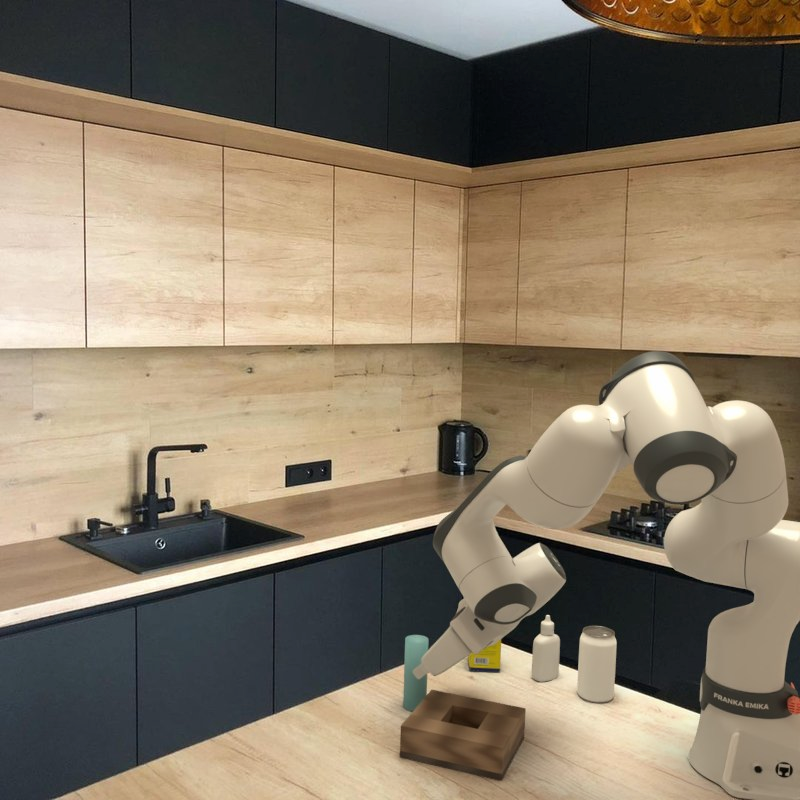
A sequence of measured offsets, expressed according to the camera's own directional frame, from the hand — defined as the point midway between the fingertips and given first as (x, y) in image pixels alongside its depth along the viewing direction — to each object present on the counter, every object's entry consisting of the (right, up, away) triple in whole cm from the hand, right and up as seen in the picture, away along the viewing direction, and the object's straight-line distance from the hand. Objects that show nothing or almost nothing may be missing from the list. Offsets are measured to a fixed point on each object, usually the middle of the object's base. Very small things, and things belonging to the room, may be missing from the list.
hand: (425, 664), depth 146 cm
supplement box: (+12, -7, +20) cm, 25 cm away
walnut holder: (+6, -10, -11) cm, 16 cm away
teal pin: (-2, -8, +2) cm, 8 cm away
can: (+31, -9, +9) cm, 33 cm away
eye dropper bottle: (+23, -8, +16) cm, 29 cm away
